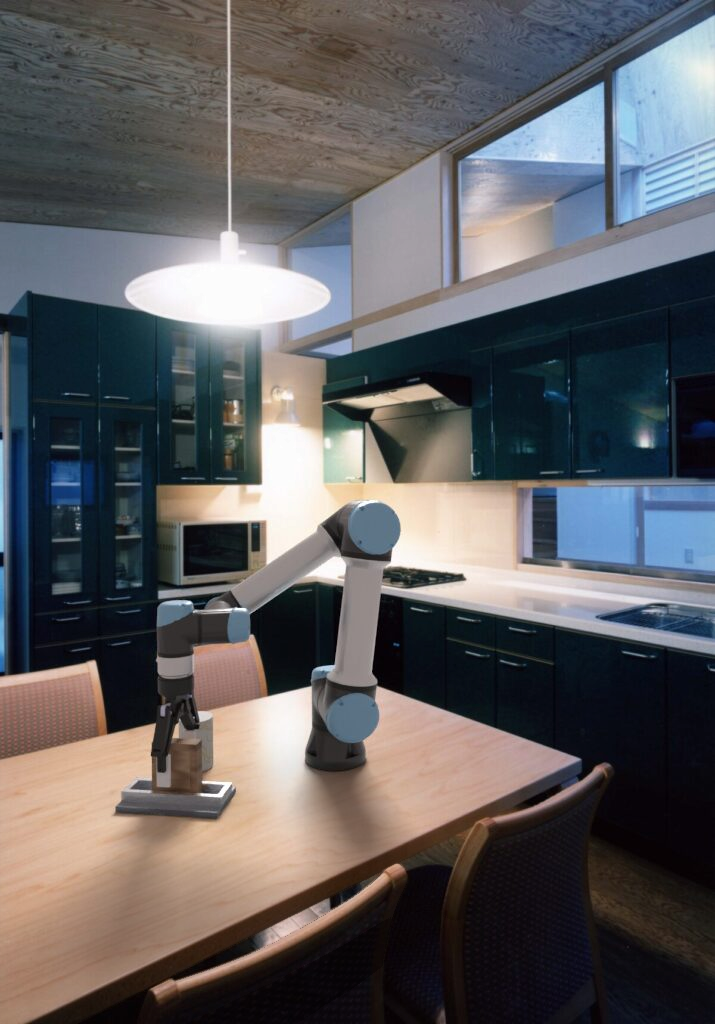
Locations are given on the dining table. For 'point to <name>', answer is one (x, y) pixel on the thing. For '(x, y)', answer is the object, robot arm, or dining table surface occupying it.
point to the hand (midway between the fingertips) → (177, 772)
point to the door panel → (182, 766)
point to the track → (175, 800)
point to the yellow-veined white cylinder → (203, 737)
